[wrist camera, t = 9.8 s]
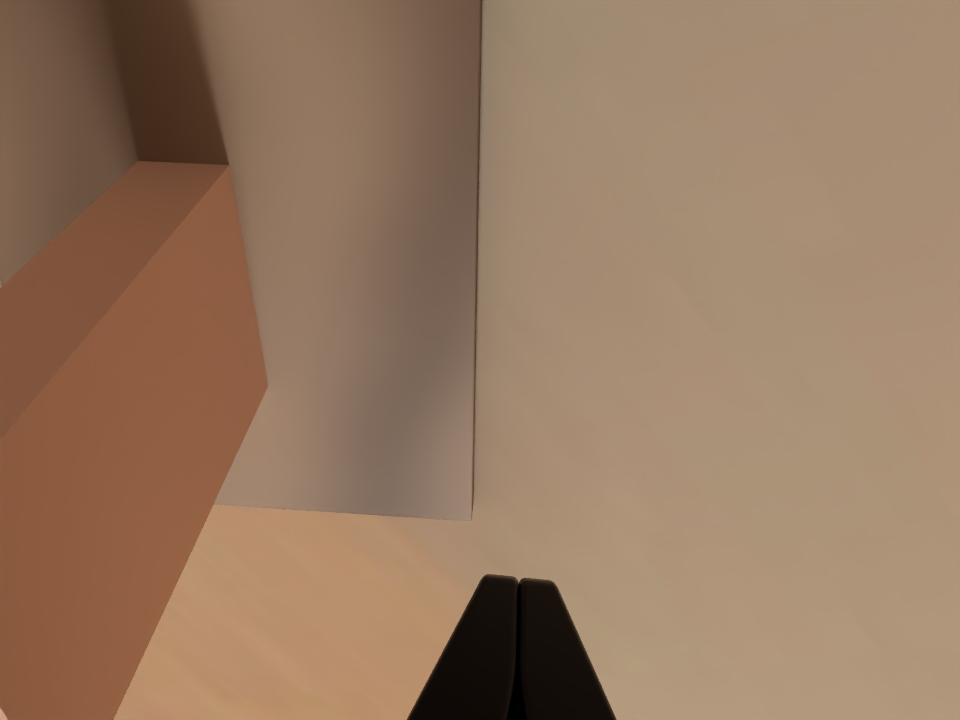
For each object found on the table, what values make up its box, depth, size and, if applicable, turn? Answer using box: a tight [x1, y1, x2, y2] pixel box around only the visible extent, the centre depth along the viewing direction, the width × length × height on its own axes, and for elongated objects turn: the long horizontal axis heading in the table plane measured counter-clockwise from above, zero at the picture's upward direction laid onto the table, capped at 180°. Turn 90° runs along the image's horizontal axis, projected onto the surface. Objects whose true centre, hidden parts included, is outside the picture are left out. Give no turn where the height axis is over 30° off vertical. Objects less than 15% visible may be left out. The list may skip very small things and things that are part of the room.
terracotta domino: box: [0, 161, 268, 720], centre depth 12 cm, size 2×5×8 cm, turn 179°
